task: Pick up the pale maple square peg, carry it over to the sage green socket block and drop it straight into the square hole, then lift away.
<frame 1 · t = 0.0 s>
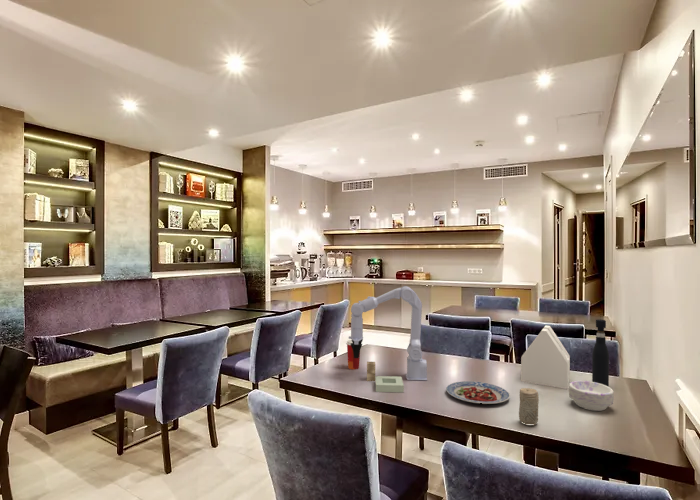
hand: (356, 355, 193), 10 cm above the table, tool pointing down, fingers open, 7 cm apart
wine bottle: (600, 386, 182), on the table
white round bowl: (590, 407, 158), on the table
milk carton: (545, 381, 189), on the table
ceramic plate: (477, 396, 169), on the table
maple peg: (371, 379, 189), on the table
socket block: (389, 387, 178), on the table
paper cup: (353, 368, 207), on the table
jute twine spool: (528, 423, 142), on the table
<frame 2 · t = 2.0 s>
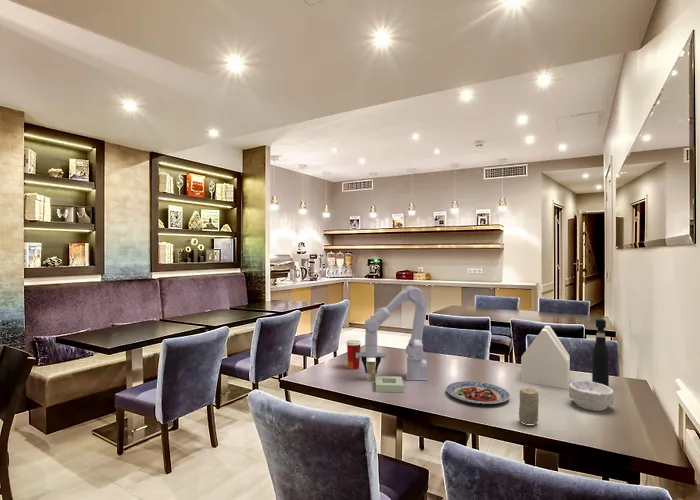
hand: (371, 372, 189), 3 cm above the table, tool pointing down, fingers closed on maple peg, 4 cm apart
maple peg: (371, 379, 189), on the table, touching gripper
everything else where it was.
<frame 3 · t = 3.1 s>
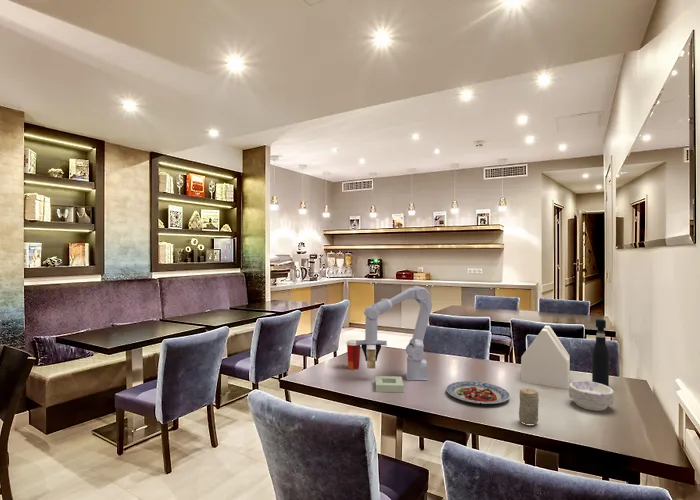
hand: (371, 360, 189), 9 cm above the table, tool pointing down, fingers closed on maple peg, 4 cm apart
maple peg: (371, 367, 189), point 6 cm above the table, touching gripper
everything else where it was.
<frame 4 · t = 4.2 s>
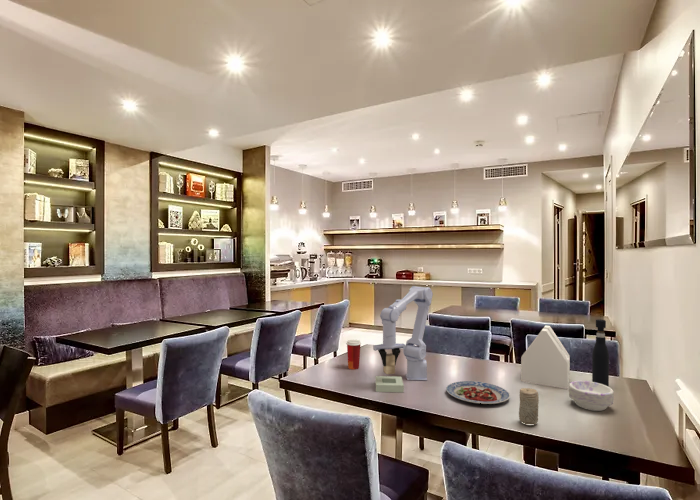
hand: (389, 365, 178), 10 cm above the table, tool pointing down, fingers closed on maple peg, 4 cm apart
maple peg: (389, 372, 178), point 7 cm above the table, touching gripper
everything else where it was.
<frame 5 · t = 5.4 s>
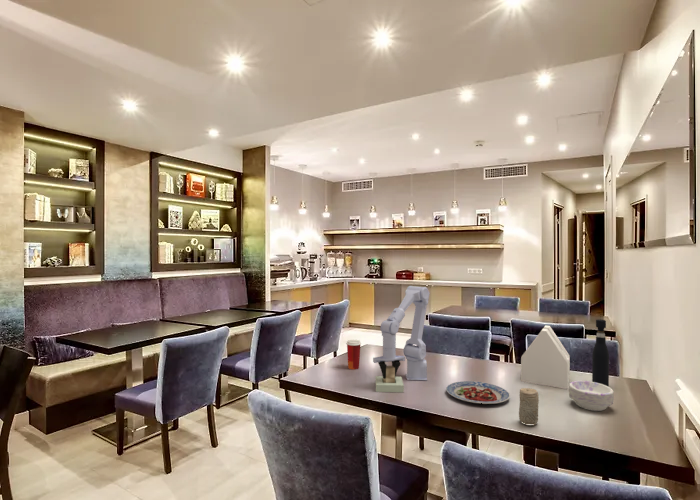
hand: (389, 377, 178), 4 cm above the table, tool pointing down, fingers closed on maple peg, 4 cm apart
maple peg: (388, 384, 178), point 1 cm above the table, touching gripper
everything else where it was.
when the fingers open (4 cm above the table, at t = 6.4 s): maple peg stays where it is, resting in socket block.
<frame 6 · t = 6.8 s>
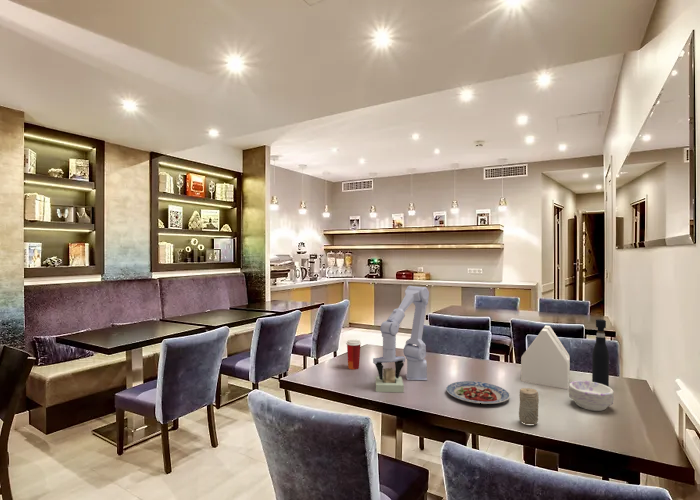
hand: (389, 378, 178), 4 cm above the table, tool pointing down, fingers open, 7 cm apart
maple peg: (389, 387, 178), resting in socket block
everything else where it was.
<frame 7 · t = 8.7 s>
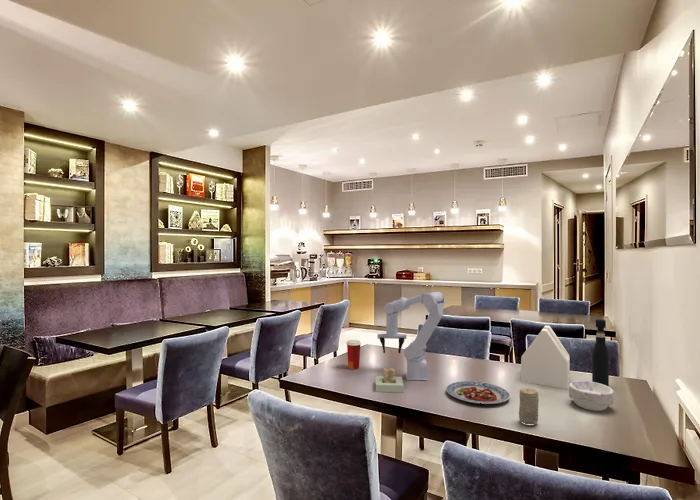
hand: (391, 352, 201), 9 cm above the table, tool pointing down, fingers open, 7 cm apart
nothing on the table moved.
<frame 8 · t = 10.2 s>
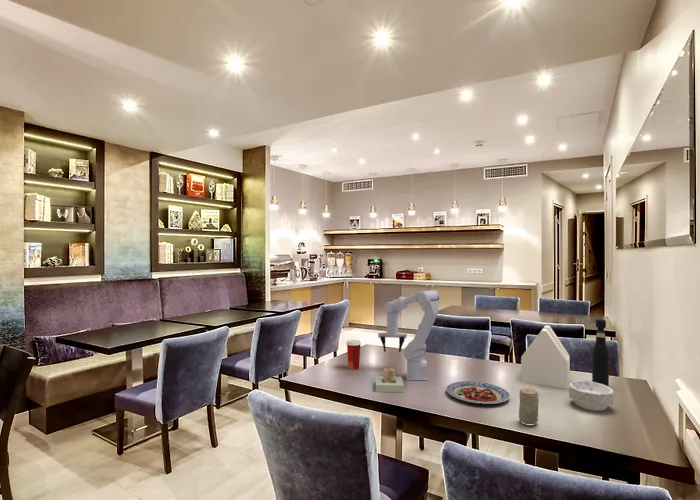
hand: (392, 351, 204), 9 cm above the table, tool pointing down, fingers open, 7 cm apart
nothing on the table moved.
at the end: maple peg 0.1 cm off-centre on the socket block, point 0.0 cm above the socket block's base; maple peg tilted 0°; the gripper is holding nothing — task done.
